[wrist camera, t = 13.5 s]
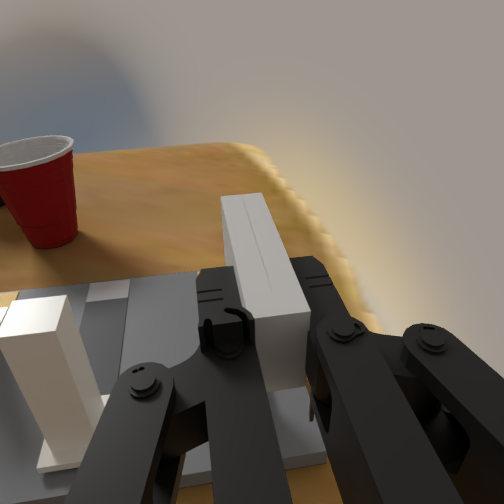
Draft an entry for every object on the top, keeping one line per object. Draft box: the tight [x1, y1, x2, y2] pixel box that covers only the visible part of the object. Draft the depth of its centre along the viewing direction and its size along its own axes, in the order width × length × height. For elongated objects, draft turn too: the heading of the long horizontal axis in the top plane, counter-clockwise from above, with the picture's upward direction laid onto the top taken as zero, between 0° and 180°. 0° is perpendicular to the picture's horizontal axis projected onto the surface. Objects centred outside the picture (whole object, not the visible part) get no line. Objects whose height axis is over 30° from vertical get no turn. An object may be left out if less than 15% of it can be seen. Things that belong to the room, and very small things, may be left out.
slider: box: [0, 295, 110, 474], centre depth 26 cm, size 4×5×11 cm
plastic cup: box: [0, 136, 78, 249], centre depth 52 cm, size 11×11×12 cm
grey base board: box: [0, 271, 327, 504], centre depth 36 cm, size 33×22×2 cm, turn 99°
